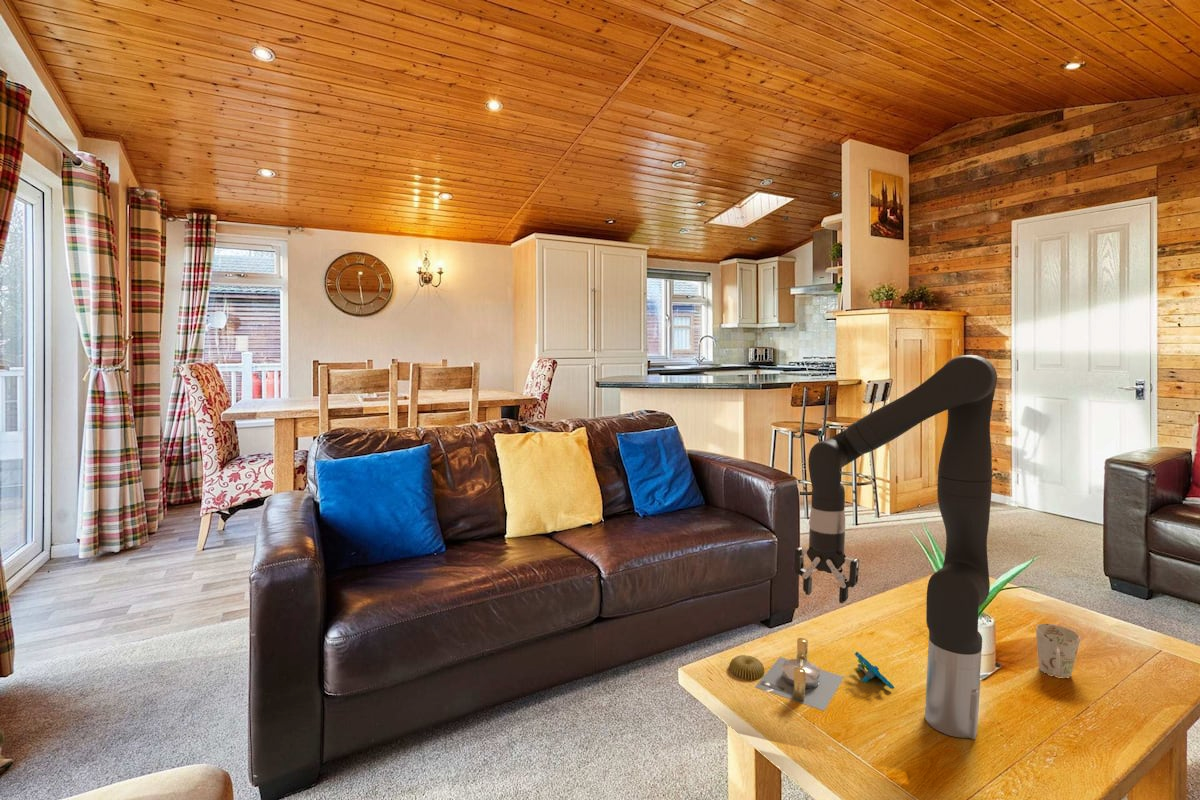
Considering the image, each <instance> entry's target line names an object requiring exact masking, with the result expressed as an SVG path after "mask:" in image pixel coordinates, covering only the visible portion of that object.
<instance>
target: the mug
mask: <svg viewBox="0 0 1200 800" xmlns="http://www.w3.org/2000/svg"><path fill="white" fill-rule="evenodd" d="M1035 634H1036V647H1037V658H1038V669H1039V671H1041V672H1042V671H1043V672H1044V673H1043V672H1042V673H1043V674H1045V673H1047V674H1049V675H1053V676H1057V677H1063V678H1067V677H1070V676H1071V677H1072V673H1073V670H1074V666H1075V662H1076V658H1077V654H1078V650H1079V646H1080V642H1081V636H1080V634H1079V633H1078V632H1077V631H1075V630H1073V629H1071V628H1068V627H1065V626H1062V625H1057V624H1053V623H1052V624H1051V623H1040V624H1037V625H1036V626H1035ZM1047 674H1046V675H1047ZM1049 675H1048V676H1049ZM1071 677H1070V678H1071Z"/></svg>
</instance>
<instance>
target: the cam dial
mask: <svg viewBox="0 0 1200 800" xmlns="http://www.w3.org/2000/svg"><path fill="white" fill-rule="evenodd" d="M808 646H809V640H808V639H807V638H803V637H798V638H797V639H796V658H791V659H789V660H787V661H785V662H784V663H783V668H782V677H783V679H784V680H785V681H786V682H787V683H789V684H791V685H793V697H794V698H795V699H797V700H804V699H805V688H813V687H816V686H817V685H818V684H819V678H820V670H819V669H820V668H819V667H818V666H817V664H815V663H813V662H811V661H808V656H809V655H808V654H809V653H808V652H809V647H808Z"/></svg>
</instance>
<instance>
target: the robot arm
mask: <svg viewBox="0 0 1200 800" xmlns="http://www.w3.org/2000/svg"><path fill="white" fill-rule="evenodd" d="M997 383H998V374H997V370H996V367H995V366H994V365H993V364H992V362H991V361H990V360H988V359H987V358H985V357H983V356H980V355H976V354H975V355H974V354H966V355H965V354H964V355H963V354H962V355H959V356H955V357H953V358H951V359H950V360H948V361H947V362H946V363H945V364H944V365H943V366H942V367H941V368H940V369H938V370H937V371H936V372H935V373H934V374H933V375H931V376H930V377H929V378H928V379H926V380H925V381H924V382H923V383H921V384H919V386H917V387H915V388H914V389H911V391H908V392H907V393H906V394H904V395H903V396H900V397H899V398H897V399H895V400H893V401H891V402H889V403H887V404H885V405H883V406H881V407H879V408H877V409H876V410H874V411H872V412H870V413H868V414H867V415H865V416H863V417H862V418H860V419H858V420H856V421H855V422H853V423H852V424H850V425H849V426H848V427H847V428H846V429H845V430H844V429H843V430H842V431H840V432H838V433H837V434H835V435H833V436H831V437H828V438H826V439H824V440H822V441H819V442H817V443H815V444H814V445H813V446H812V447H811V448H810V451H809V453H808V459H807V460H808V463H807V465H808V473H809V480H810V483H811V504H810V505H811V506H810V513H809V520H808V525H809V528H808V529H809V532H808V533H809V534H808V535H809V536H808V549H807V548H803V547H802V546H799V547H797V548H796V549H794V573H795V575H799V576H801V577H802V578H803V580H802V590H803V592H805V594H804V595H806V596H807V595H808V596H810V595H811V594H812V592H813V591H812V589H813V577H812V576H811V575H812V574H813V573H814V572H815V570H817V571H819V572H825V573H828V574H832V575H833V576H834V578H835V579H836V580H837V583H838V584H839V593H838V594H839V595H838V597H839V599H838V602H839V604H842V605H843V604H844V603H845V602H847V600H848V598H849V588H855V586H856V585H857V584H858V582H859V571H860V569H859V567H860V560H859V558H857V557H854V558H850V557H847V556H846V554H845V543H846V542H845V541H846V540H845V538H846V537H845V536H846V515H845V514H846V512H845V506H846V505H845V504H846V503H845V502H846V501H845V500H846V491H845V486H844V485H843V484H842V483H841V469H842V468H844V467H845V466H847V465H849V464H850V463H853V462H854V461H856V460H857V459H858V458H860V457H861V456H863V455H864V454H868V453H871V452H873V451H874V450H877V449H879V448H880V447H883V446H884V445H886V444H888V443H890V442H891V441H894V440H895V439H897V438H898V437H900V436H902V435H904V434H905V433H907V432H908V431H910V430H911V429H912V428H914V427H916V426H917V425H918V424H920V423H923V422H924V421H926V420H928V419H929V418H932V417H934V416H936V415H938V414H940V413H942V412H944V411H947V427H946V431H945V435H944V440H943V443H942V447H941V452H940V455H939V456H940V457H939V462H938V469H937V487H936V488H937V489H936V491H937V493H936V495H937V503H938V508H939V511H940V516H941V518H942V521H943V525H944V528H945V536H946V538H945V539H946V540H945V541H946V542H945V552H944V561H943V565H942V567H941V568H939V569H938V570H937V571H935V572H934V573H933V574H931V576H930V578H929V580H928V583H927V587H926V615H925V617H926V620H925V621H926V627H927V629H928V633H929V634H928V645H927V647H928V650H927V664H926V665H927V668H926V670H927V671H926V683H925V684H926V685H925V706H924V719H925V721H926V723H927V724H928V725H929V726H930V727H932V728H933V729H934V730H936V731H938V732H939V733H942V734H944V735H948V736H950V737H955V738H962V739H964V738H967V739H968V738H969V739H972V740H976V738H977V732H978V725H979V711H980V710H979V709H980V697H981V696H980V693H981V667H982V666H981V664H982V650H983V637H982V634H981V632H979V611H980V610H979V609H980V607H981V606H982V605H983V604H984V603H985V602H986V601H987V600H988V597H989V595H990V587H991V585H990V582H991V581H990V571H989V560H988V534H989V527H990V526H989V525H990V518H991V517H990V515H991V513H990V512H991V502H992V488H993V486H992V485H993V468H992V467H993V459H992V458H993V457H992V456H993V455H992V442H991V441H992V440H991V439H992V438H991V416H992V412H993V411H992V409H993V404H994V399H995V392H996V387H997ZM806 556H807V557H808V558H809V560H810V562H811V563H810V564H809V566H808V567H807V568H806V569H805V562H804V561H805V559H804V558H805V557H806ZM844 564H846V567H847V568H848V569H849V578H848V577H847V575H846V571H845V569H844V567H843V565H844Z"/></svg>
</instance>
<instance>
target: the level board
mask: <svg viewBox="0 0 1200 800" xmlns="http://www.w3.org/2000/svg"><path fill="white" fill-rule="evenodd" d="M787 660H790V659H788V658H785V657H781V656H779V658H777V660H776V661H775V662H774V663H773V665H772V666H771V667H770V669H769V670H768V671H766V673H764V675H763V676H762V677H761V678H760V680H759V681H758V683H757V684H756V685H755V688H757V689H759V690H762V691H765V692H766V693H771V694H774V695H777V696H780V697H782V698H785V699H788V700H791V701H794V702H797V703H800V704H802V705H806V706H809V707H810V708H814V709H818V710H819V711H822V712H823V711H824V712H825V711H826V710H827V708H828V705H829V704H830V702H831V700H832V699H833V697H834V696H835V694H836V692H837V690H838V689H839V687H840V685H841V683H842V682H843V679H844V678H845V676H844V675H840V674H837V673H834V672H831V671H826V670H825V669H822V668H819V670H820V678H819V684H818V685H817V686H816V687H813V688H805V699H804V700H797V699H795V698H794V697H793V685H791V684H789V683H787V682H786V681H785V680H784V679H783V677H782V668H783V663H784V662H785V661H787Z"/></svg>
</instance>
